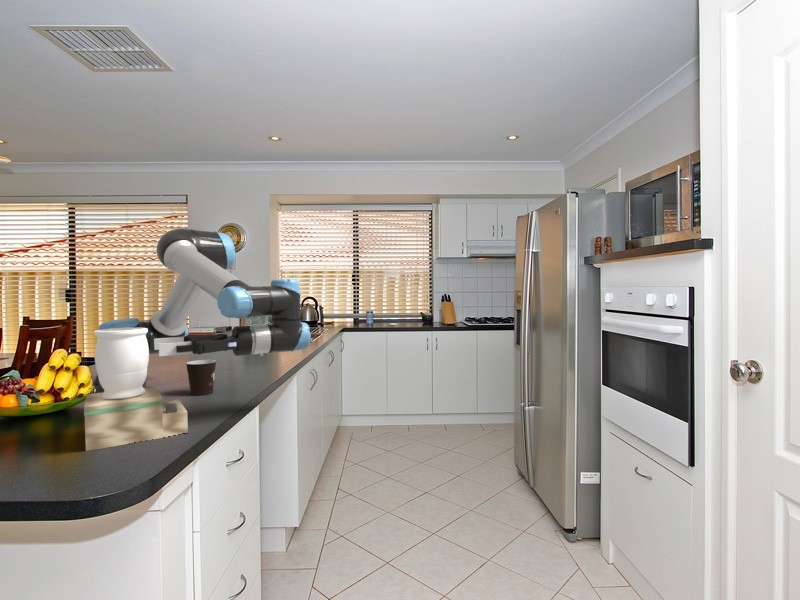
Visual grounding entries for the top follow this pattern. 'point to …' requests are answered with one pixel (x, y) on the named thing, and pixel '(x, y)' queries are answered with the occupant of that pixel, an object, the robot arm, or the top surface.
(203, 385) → the coffee mug
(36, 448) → the top surface
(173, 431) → the step stand
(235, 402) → the top surface
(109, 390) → the jar
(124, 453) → the top surface
